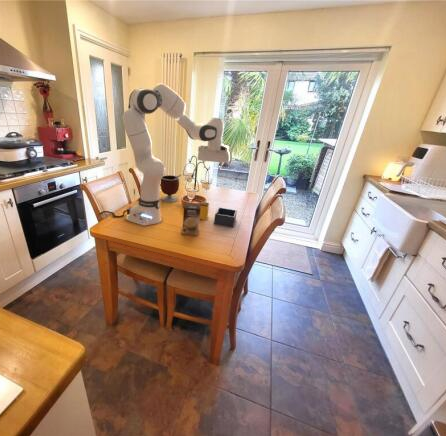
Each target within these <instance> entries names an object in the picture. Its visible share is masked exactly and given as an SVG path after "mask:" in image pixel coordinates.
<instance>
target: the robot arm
mask: <svg viewBox="0 0 446 436" xmlns="http://www.w3.org/2000/svg"><path fill="white" fill-rule="evenodd" d="M127 107H128V109H127V110H125V111H124V112H123V114H122V122H123V127H124V130H125V134H126V136H127V139H128V142H129V143H130V146H131V150H132V153H133V157H134V164H135V167H136V169H137V171H139V172H140V173H142V182H141V184H140V187H139V188H140V197H138V199H136V202H137V203H136V204H135V205H133V206H128V208H127V209H125V210H124V211H123V212H122V214H121V215H115V213H114V212H112V211H109V210H103V211H101V212H99V215H102V214H104V213H107V214H112V216H113V217H114V218H121V217H122V218H123V217H124V216H125V213H126V214H127V215H126V216H125V221H128V222H131V223H134V224H136V225H137V224H138V225H140V226H144V227H146V226H149V225H157V224H160V223H161V222H162V220H163V218H162V214H161V198H160V188H161V178H162V176H165V174H166V165H165V164H164V163H163V162H162V160H160V159H159V158H157V157H155V156H154V154H153V149H152V147H153V142H152V138H151V135H150V133H149V130H148V126H147V123H146V115H151V114H153V113H155V112H156V111H157V110H158V109H160V110H161V111H163V112H164V113H165V114H166V115H167V116H169V117H170V118H171V119H173V120H175V122H177V123H178V124H179V125H180V126H181V127H182V128H183V129H184V130H185V131H186V134H187V135H188V137H189V138H190V139H191V140H194V141H200V142H207V145H199V146H198V148H197V160H198V161H202V164H203V168H204V169H207V167H208V164H206V162H212V163H213V162H214V163H220V165H219V166H218V167H217V168H218V169H217V170H220V171H221V170H222V167H223V165H224V164H228V163H230V160H231V153H230V151H229V150H230V146H229V145H226V144H224V143H223V136H224V131H225V129H224V127H225V125H224V120H223V119H221V118H219V117H211V118H210V119H209V120H208V121H205V122H203V123H201V122H196V121H194V120H192V119H191V118H190V117H189V116H188V115H187V114H186V113H185V112H186V109H187V104H186V102H185V101H184V99H183V98H182V97H181V96H180V95H179V94H178V93H177V92H176V91H175V90H174V89H172V88H171V87H169V86H168V85H167V84H165V83H163V82H162V83H157V84H156V85H155V86H154V87H153V89H152V88H136V89H134V90H133V91H132V92H131V93H130V95H129V97H128V106H127Z"/></svg>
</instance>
